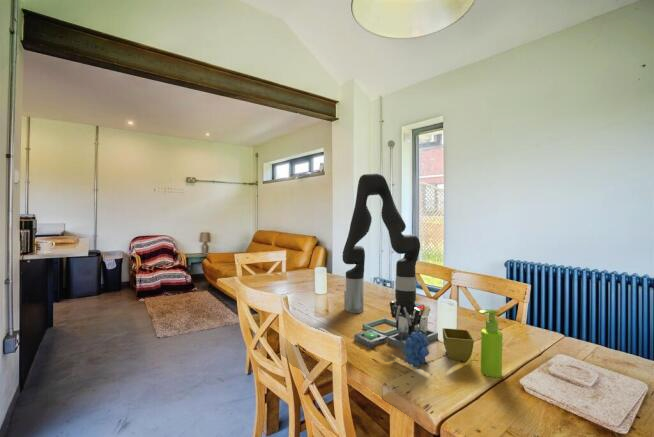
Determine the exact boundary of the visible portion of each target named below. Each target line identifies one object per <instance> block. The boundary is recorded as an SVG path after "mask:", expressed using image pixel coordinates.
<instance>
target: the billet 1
mask: <svg viewBox="0 0 654 437" xmlns="http://www.w3.org/2000/svg"><path fill="white" fill-rule="evenodd" d="M409 316H411V315H409ZM411 321H412V319H411ZM397 334H398V337H399V338H400V339H404V340H406V339H407V338H411V337H410V335H409V322H408V319H407V318H406V315H404V314H401V315H399V316H398V332H397Z"/></svg>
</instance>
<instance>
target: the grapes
mask: <svg viewBox="0 0 654 437" xmlns="http://www.w3.org/2000/svg"><path fill="white" fill-rule="evenodd" d="M410 337H411V338H407V339H406V340H405V344H406V345H407V346H408V347H405V348H404V350H402V352H403V354H404V356H405V361H406V363H407V364H408V365H409V366H411V365H412V367H413V368H416V369H417V368H418V367H419V366H421V364H425V363H426V362H427V360H426V357H428V356H429V355H430V350H429V349H428V348H427V347H429V344H430V342H429V343H428V341H427V339H425V337H424V334H423V333H421V332H419V333H416V332H412V333H411V334H410Z"/></svg>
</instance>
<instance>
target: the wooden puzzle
mask: <svg viewBox="0 0 654 437" xmlns="http://www.w3.org/2000/svg"><path fill="white" fill-rule="evenodd" d="M415 306H416V308H418V309H422V311H423V312H422V316H426V317H427V316H428V315H429V311H430V308H431V307H430V306H428V305H425V304H424V303H423V304H422V303H416V302H415ZM397 309H398V308H397ZM414 313H415V311H414ZM394 314H395V311H394ZM414 315H415V314H414ZM427 318H428V317H427Z"/></svg>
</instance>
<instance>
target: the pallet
mask: <svg viewBox="0 0 654 437" xmlns="http://www.w3.org/2000/svg"><path fill="white" fill-rule="evenodd" d="M387 337H388V339H387V344H389V345H391V346H393V347H395V348H398V349H400V350H402V351H403V350H404V348H405V347H408V346H407V345H406V344H405V340H404V339H400V338H399V337H398V333H395V334H392V335H389V336H387ZM425 339H427V341H428V343H429V344H430V343H431V342H433V341H435V340H438V339H439V333H438V332H437V331H433V330H431V329H430V328H429V329H428V335H427V336H425Z"/></svg>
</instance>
